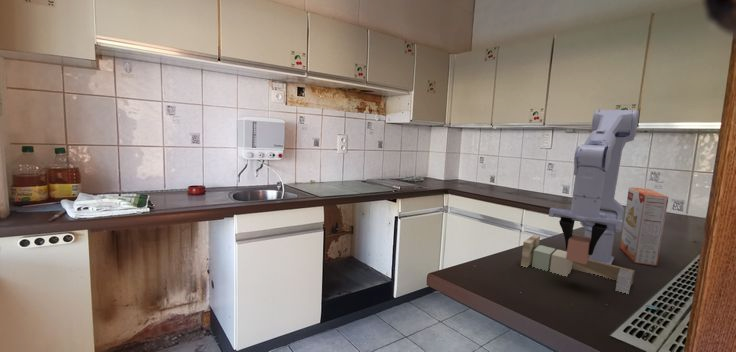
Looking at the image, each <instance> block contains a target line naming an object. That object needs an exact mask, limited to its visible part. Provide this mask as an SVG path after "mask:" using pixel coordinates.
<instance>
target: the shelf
mask: <svg viewBox="0 0 736 352" xmlns="http://www.w3.org/2000/svg"><path fill="white" fill-rule="evenodd" d="M540 239H541V235H538V234H533V235H532V236H530V237H528V238H527V239H526V240H525V241H523V243H522V244H523V245H522V251H521V261H520V267H521V266H523V267H522V268H524V267H526V268H525V269H528V268H529V267H530V266H532V261H533V253H534V250H535V249H536V248H537V247H538V246H539V245H540ZM529 265H530V266H529ZM528 266H529V267H528ZM527 267H528V268H527ZM620 269H624V270H628V271H632V272H633V274H632V280H631V286H633V282H634V276H635V269H630V268H628V267H627V268H626V267H623V266H618V265H616V264H615V265H614V264H611V265H610V264H606V263H602V262H598V261H594V260H590V259H589V260H588V261H587V263H586V265H585V264H582V263H578V262H574V261H573V263H572V270H575V271H579V272H583V273H586V274H589V273H590V275H593V274H595V275H594V276H597V275H599V276H598V277H600V276H603V277H602V278H604V277H605V278H604V279H608V278H609V279H608V280H611V279H612V281H615V280H616V282H617V277H618V274H619V271H620Z"/></svg>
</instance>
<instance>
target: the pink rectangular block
mask: <svg viewBox="0 0 736 352" xmlns="http://www.w3.org/2000/svg"><path fill="white" fill-rule="evenodd" d="M590 243H591V237H586V236H584V235H580V234H577V233H572V236H571V237H570V238H569V240H568V247H567V249H566V252H567V255H566V260H570V261H574V262H578V263H582V264H585V265H586V263H587V261H588V260H589V258H590V255H588V252H589V247H590Z"/></svg>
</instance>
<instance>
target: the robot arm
mask: <svg viewBox="0 0 736 352" xmlns="http://www.w3.org/2000/svg"><path fill="white" fill-rule="evenodd" d="M639 116H640V112H639V111H638V109H636V108H635V109H597V110H596V111H594V113H593V115H592V121H591V128H592V132H590V133H589V134H588V137H587V138H586V141H584V144H581V145H580V146H577V147H576V149H575V152H574V156H573V157H574V158H573V162H574V163H573V166H574V167H573V168H574V169H573V176H574V183H573V188H572V189H573V190H572V197H571V204H570V209H563V208H556V207H555V208H554V207H550V208H549V210H548V211H549V213H548V217H550V218H560V220H559V221H558V222H559V226H560V228H561V230H562V234H563V236H564V243H565V250H567V247H568V240H569V238H570V237H571V236H572V235H573V231H574V225H575V221H576V222H579V224H580V225H581V227H583V229H584V235H583V236H586V237H591V243H590V247H589V252H588V255H590V258H589V259H590V260H594V261H598V262H602V263H606V264H610V265H613V262H614V259H615V256H613V255H612V253H613V249H614V248H613V247H614V240H615V234H619V233H621V231H622V230H623V224H624V218H625V208H624V206H623V205H622V204H621V203H619V202H618V200H616V199H615V195H616V190H617V183H618V177H619V174H620V172H619V171H620V165H621V159H622V154H623V149H624V148H625V145H626V143H629V142H633V141H634V139H635V138H636V136H637V129H638V126H639V125H638V124H639V118H640V117H639Z"/></svg>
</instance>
